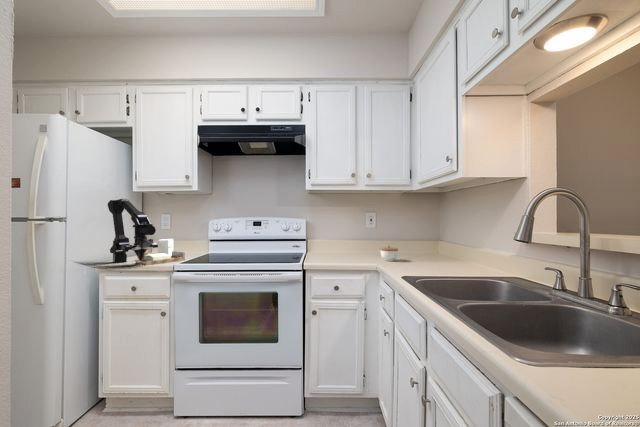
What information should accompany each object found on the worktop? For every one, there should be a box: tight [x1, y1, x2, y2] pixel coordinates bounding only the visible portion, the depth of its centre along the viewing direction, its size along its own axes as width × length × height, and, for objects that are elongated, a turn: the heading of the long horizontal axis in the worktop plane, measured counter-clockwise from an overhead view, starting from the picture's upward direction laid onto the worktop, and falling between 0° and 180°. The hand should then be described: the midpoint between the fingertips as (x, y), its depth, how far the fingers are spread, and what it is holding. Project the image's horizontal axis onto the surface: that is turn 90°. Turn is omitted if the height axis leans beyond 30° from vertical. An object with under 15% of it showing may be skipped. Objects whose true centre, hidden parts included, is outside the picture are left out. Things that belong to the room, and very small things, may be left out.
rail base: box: [135, 250, 186, 266], centre depth 194 cm, size 24×14×5 cm, turn 144°
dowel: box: [142, 247, 149, 259], centre depth 200 cm, size 4×4×8 cm
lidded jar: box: [379, 245, 399, 262], centre depth 193 cm, size 11×11×9 cm
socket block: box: [144, 253, 171, 261], centre depth 192 cm, size 11×11×3 cm
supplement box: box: [157, 238, 174, 256], centre depth 214 cm, size 7×7×13 cm
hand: (140, 260), depth 184 cm, fingers closed
